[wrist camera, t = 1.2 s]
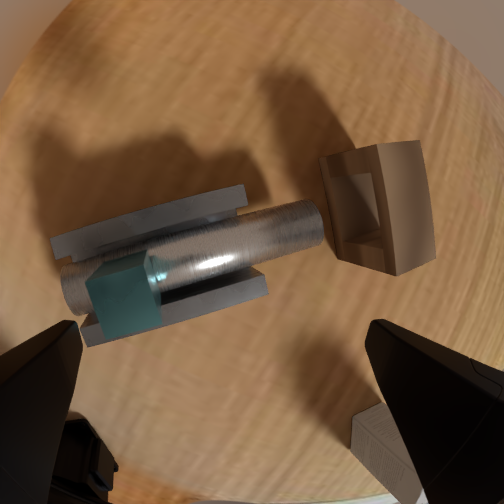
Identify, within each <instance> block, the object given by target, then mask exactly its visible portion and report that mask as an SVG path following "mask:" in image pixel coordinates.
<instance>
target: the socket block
mask: <svg viewBox="0 0 504 504" xmlns="http://www.w3.org/2000/svg"><path fill="white" fill-rule="evenodd" d="M319 164H320V168H321V173H322V178H323V182H324V187H325V192H326V197H327V202H328V207H329V212H330V218H331V223H332V229H333V234H334V240H335V246H336V252H337V258H338V259H339V260H343V261H346V262H349V263H353V264H356V265H360V266H363V267H366V268H370V269H373V270H376V271H380V272H383V273H387V274H390V275H393V276H399V275H401V274H403V273H406V272H408V271H410V270H412V269H414V268H416V267H419V266H421V265H423V264H425V263H427V262H429V261H431V260H433V259H435V258H436V250H435V237H434V227H433V217H432V209H431V201H430V194H429V187H428V181H427V175H426V169H425V164H424V158H423V153H422V148H421V144H420V140H414V141H403V142H393V143H383V144H375V145H371V146H367V147H362V148H358V149H354V150H350V151H346V152H342V153H338V154H334V155H330V156H326V157H322V158H319Z"/></svg>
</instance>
